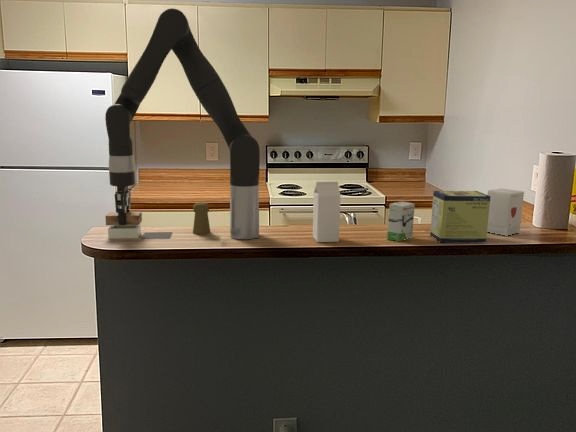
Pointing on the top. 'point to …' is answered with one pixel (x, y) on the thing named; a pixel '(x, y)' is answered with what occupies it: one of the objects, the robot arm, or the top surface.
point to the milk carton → (326, 212)
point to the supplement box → (505, 211)
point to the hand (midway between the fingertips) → (124, 222)
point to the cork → (201, 219)
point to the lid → (131, 218)
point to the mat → (157, 235)
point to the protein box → (460, 216)
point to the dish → (124, 231)
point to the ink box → (400, 221)
